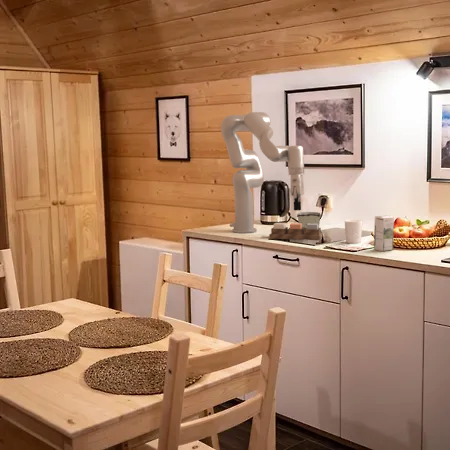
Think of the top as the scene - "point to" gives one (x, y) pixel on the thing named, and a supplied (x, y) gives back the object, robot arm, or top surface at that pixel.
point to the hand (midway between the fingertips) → (297, 210)
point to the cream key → (279, 225)
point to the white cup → (353, 231)
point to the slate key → (312, 226)
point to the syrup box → (383, 233)
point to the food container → (308, 218)
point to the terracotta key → (296, 226)
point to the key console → (296, 234)
